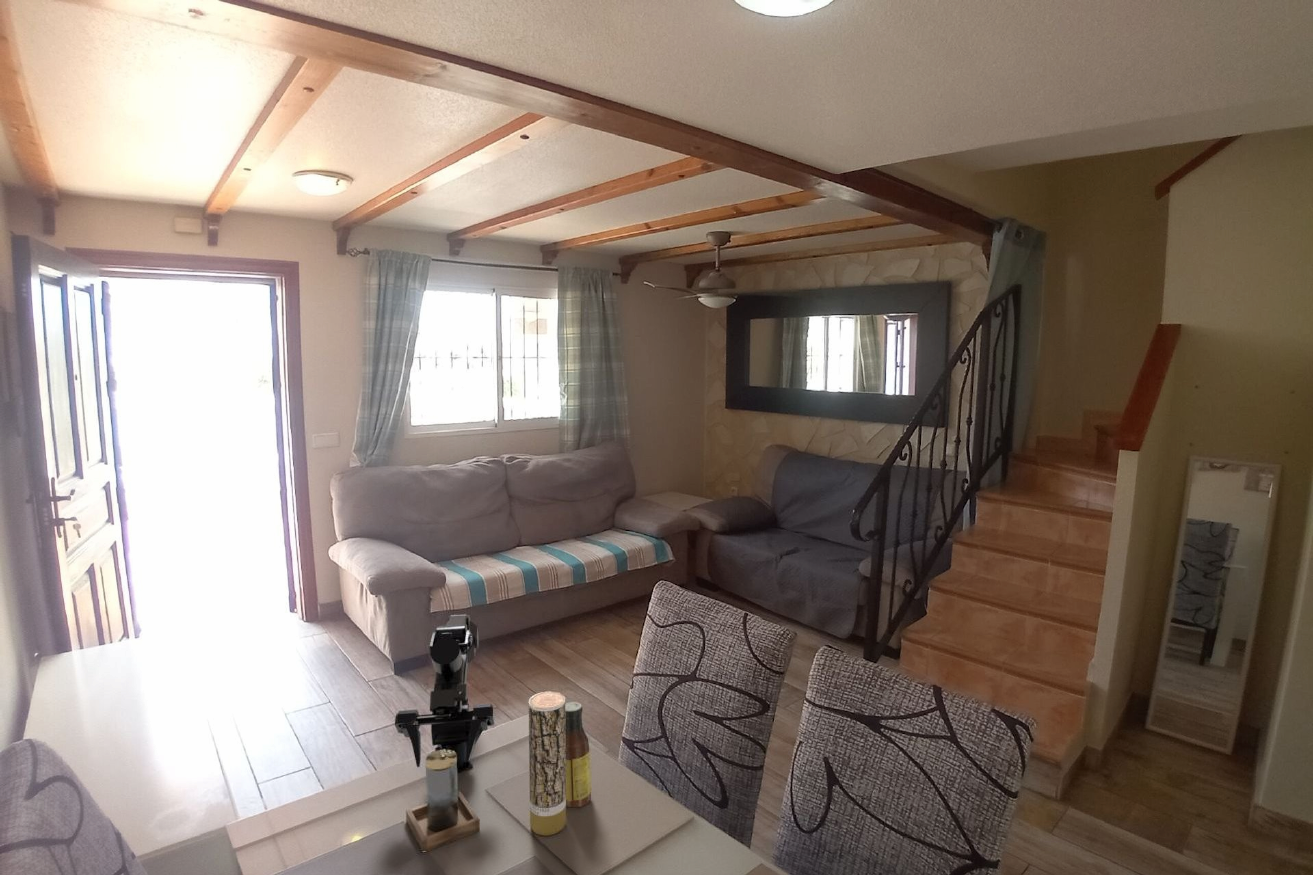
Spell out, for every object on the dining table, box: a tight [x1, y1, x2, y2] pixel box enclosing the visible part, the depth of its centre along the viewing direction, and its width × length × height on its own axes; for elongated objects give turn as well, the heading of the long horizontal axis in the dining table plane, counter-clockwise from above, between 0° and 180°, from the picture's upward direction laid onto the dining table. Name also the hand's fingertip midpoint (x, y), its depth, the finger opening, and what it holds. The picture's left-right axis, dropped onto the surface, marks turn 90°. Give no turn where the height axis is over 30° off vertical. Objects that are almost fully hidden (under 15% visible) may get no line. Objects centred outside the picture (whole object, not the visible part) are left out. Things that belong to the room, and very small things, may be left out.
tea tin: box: [425, 749, 459, 832], centre depth 128 cm, size 6×6×13 cm
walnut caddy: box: [405, 791, 481, 852], centre depth 128 cm, size 11×11×2 cm
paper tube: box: [528, 691, 567, 836], centre depth 127 cm, size 7×7×25 cm
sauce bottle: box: [565, 701, 592, 809], centre depth 135 cm, size 7×6×20 cm
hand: (443, 764), depth 130 cm, fingers open, 9 cm apart
